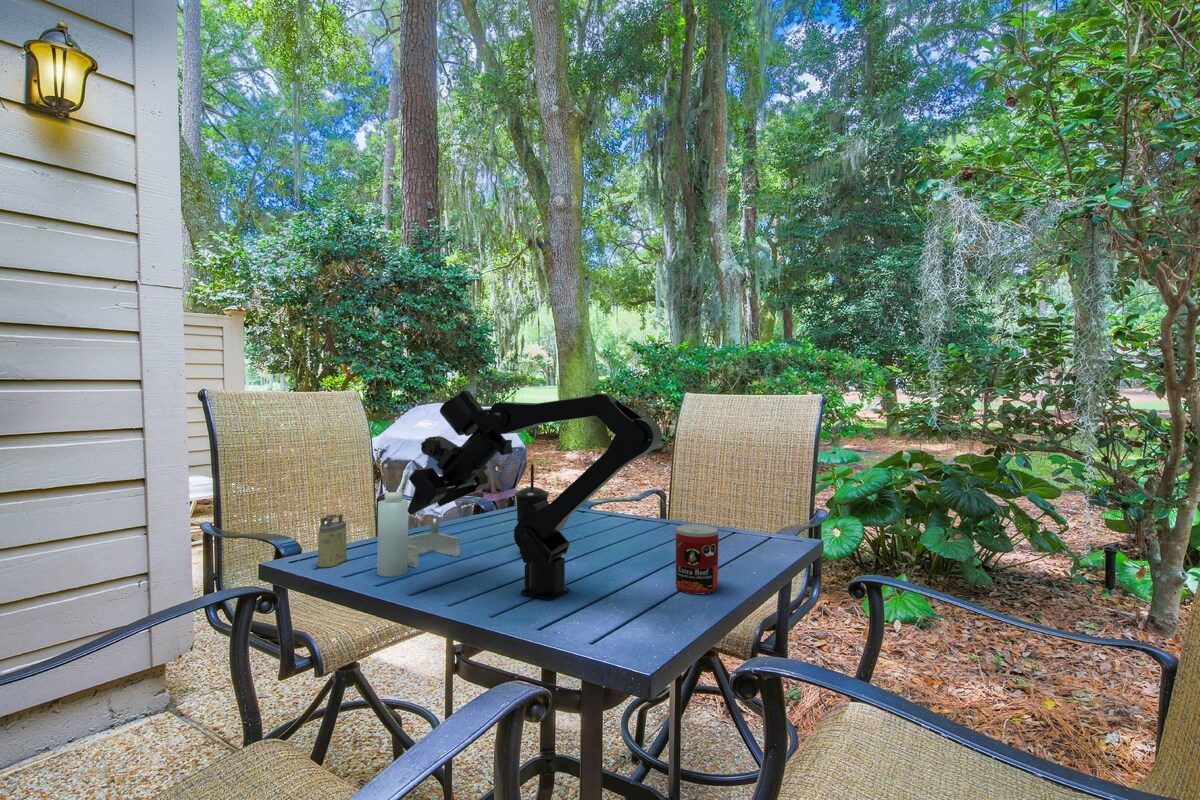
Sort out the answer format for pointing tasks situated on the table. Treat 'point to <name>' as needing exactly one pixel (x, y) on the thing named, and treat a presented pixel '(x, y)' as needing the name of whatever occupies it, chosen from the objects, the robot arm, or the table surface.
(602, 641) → the table surface
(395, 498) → the bottle
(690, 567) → the canned food
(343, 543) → the lighter
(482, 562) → the table surface
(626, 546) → the table surface
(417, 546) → the hook bracket
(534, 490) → the drinking cup
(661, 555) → the table surface
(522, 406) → the robot arm
